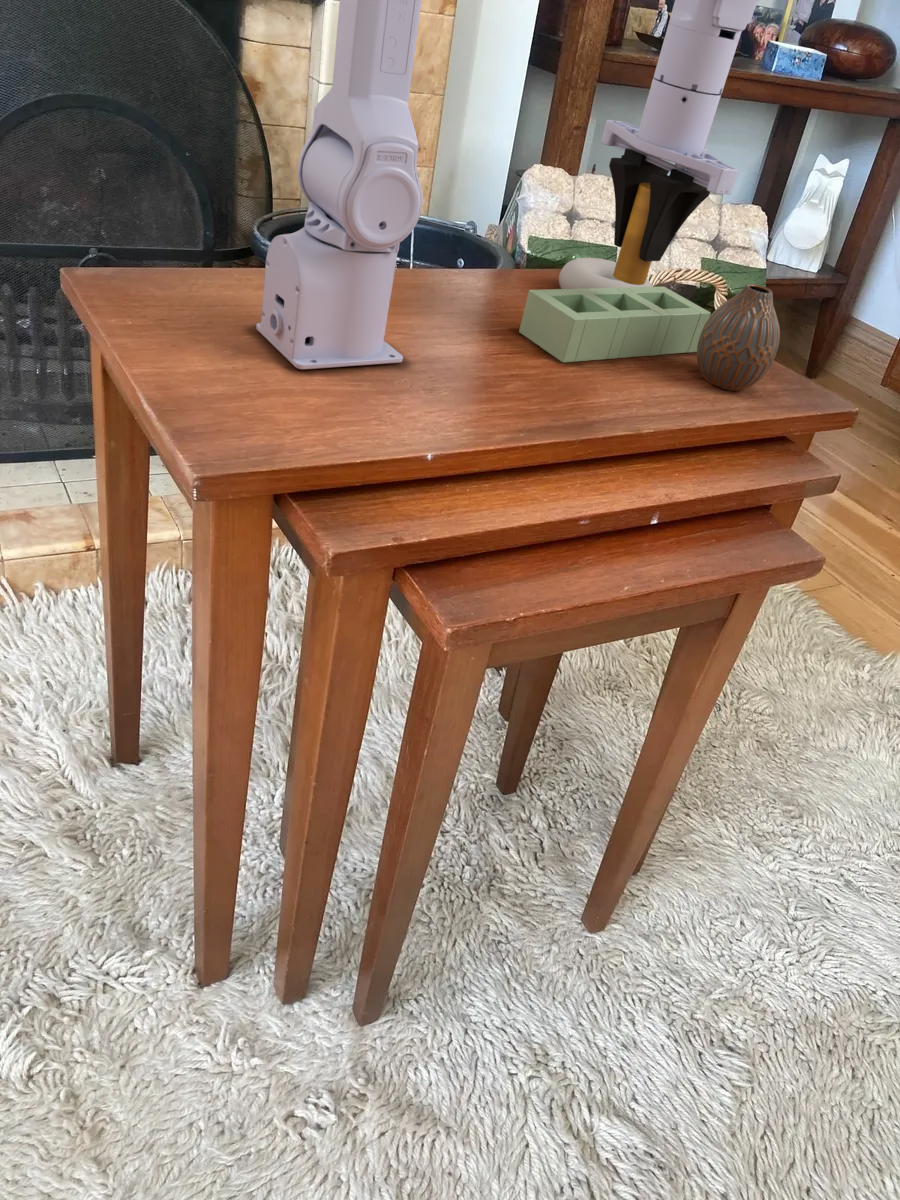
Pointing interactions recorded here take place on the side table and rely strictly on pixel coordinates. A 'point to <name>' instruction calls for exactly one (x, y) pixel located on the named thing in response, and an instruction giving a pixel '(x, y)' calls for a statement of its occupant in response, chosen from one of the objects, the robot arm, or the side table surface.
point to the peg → (634, 241)
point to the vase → (739, 340)
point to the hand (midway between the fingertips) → (636, 252)
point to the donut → (592, 275)
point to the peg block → (612, 322)
